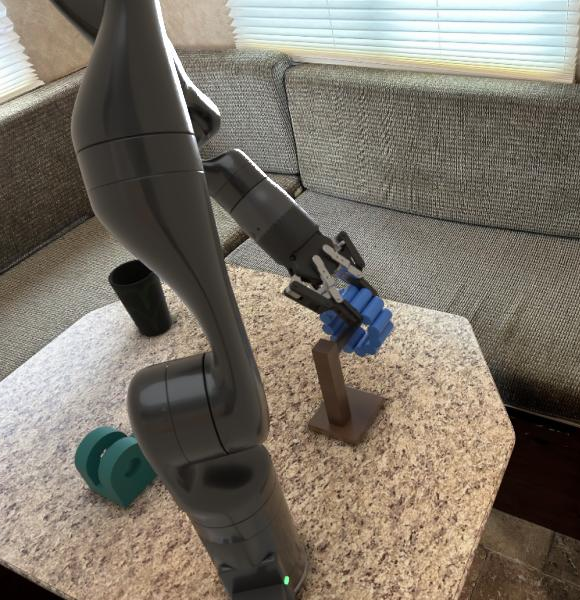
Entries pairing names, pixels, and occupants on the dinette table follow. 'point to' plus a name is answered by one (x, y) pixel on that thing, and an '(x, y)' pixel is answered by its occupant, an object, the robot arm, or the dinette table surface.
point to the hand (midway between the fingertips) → (367, 311)
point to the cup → (141, 297)
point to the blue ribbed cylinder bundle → (372, 316)
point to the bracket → (113, 465)
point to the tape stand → (341, 394)
